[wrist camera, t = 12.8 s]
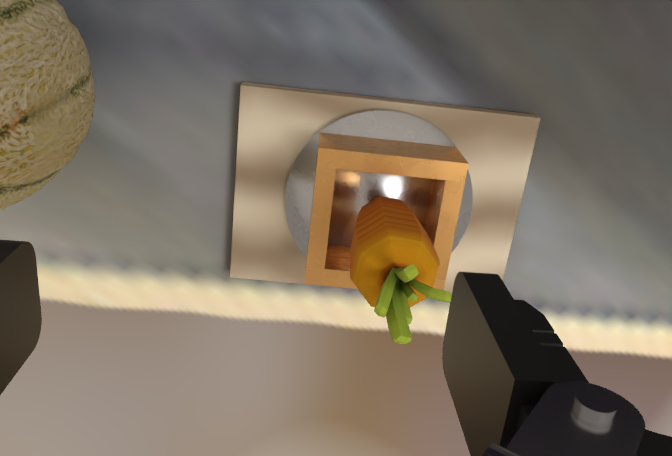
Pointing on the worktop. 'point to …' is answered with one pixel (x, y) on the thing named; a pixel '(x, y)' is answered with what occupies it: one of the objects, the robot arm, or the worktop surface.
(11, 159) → the cantaloupe
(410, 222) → the carrot
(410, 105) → the base board
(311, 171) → the socket collar
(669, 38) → the worktop surface
